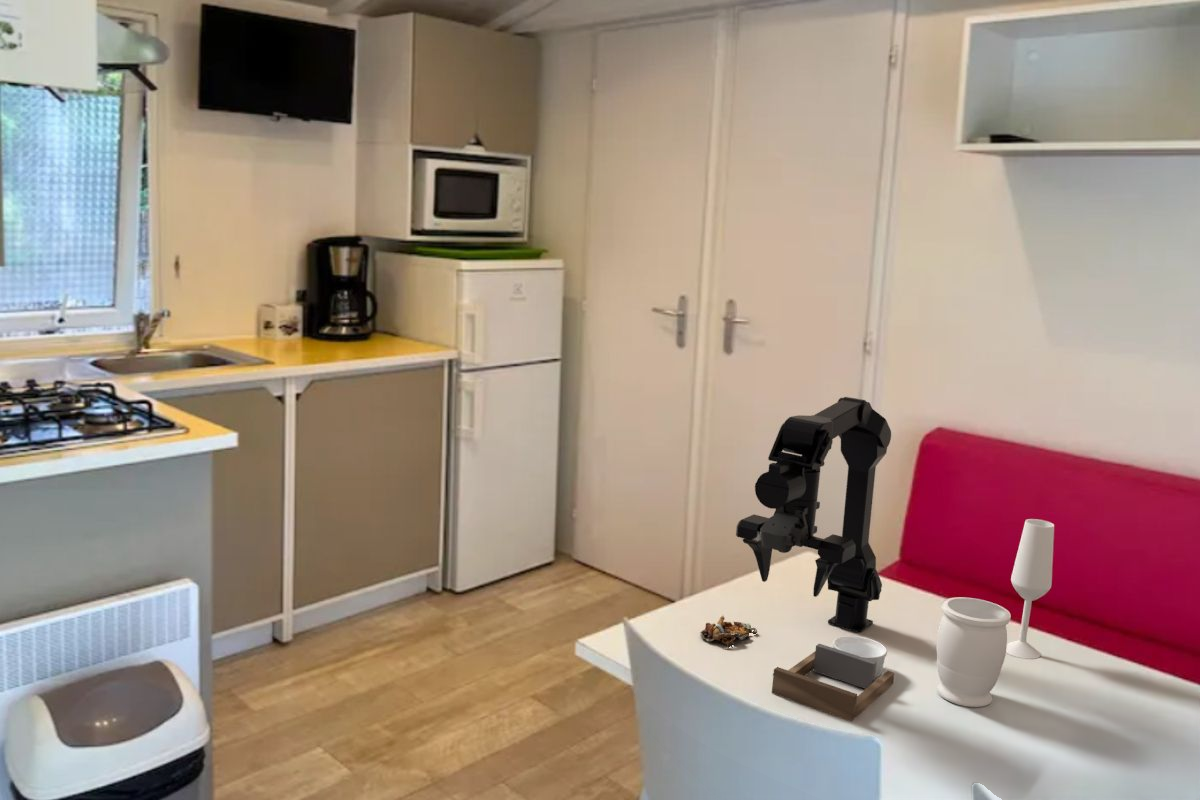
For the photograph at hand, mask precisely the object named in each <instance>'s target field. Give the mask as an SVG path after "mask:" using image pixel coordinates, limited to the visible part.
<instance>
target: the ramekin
mask: <svg viewBox="0 0 1200 800" xmlns="http://www.w3.org/2000/svg"><path fill="white" fill-rule="evenodd" d="M832 646H833V647H832V648H835V649H838V650H841V651H844V652H847V653H851V654H854V655H857V656H860V657H863V658H866V659H869V660H872V661H876V671H875V679H878V678H879V677H881V676H882V672H883V668H884V663H885V658H886V656H887V653H888V649H887V648H886V647H885V646H884V645H883V644H882V643H881V642H879V641H876V640H874V639H871V638H867V637H864V636H858V635H857V636H856V635H843V636H838V637H836V638H835V639H833V641H832Z"/></svg>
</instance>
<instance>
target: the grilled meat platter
mask: <svg viewBox="0 0 1200 800" xmlns="http://www.w3.org/2000/svg"><path fill="white" fill-rule="evenodd" d="M725 619H726V618H725V616H724V614H722V615H721V616H720V617H719V619H718V621H717V623H710V622H706V623H705V627H704V629H703V630H702V631H700V633H699V636H700V637H701V638H702V639H704V640H706V641H707V642H712V641H715V640H716V641H718V642H719V643H723V644H724V645H725V644H726V648H725V646H724V647H723V648H722V650H723V651H730V650H731V649H733V647H732V645H734V646H735V647H736V645H735V643H734V640H735V639H736V638H738V639H739V640H745V639H746V638H747V637H750V636H749V633H753V634H756V633H757V634H758V629H757V628H756V627H753V628H751V626H752V625H751V623H746V622H745V623H744V622H740V621H733V623H732V622H731V621H725ZM752 630H754V631H753V632H752ZM730 646H731V647H732V648H729V647H730ZM729 649H730V650H729Z"/></svg>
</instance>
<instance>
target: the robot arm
mask: <svg viewBox="0 0 1200 800" xmlns="http://www.w3.org/2000/svg"><path fill="white" fill-rule="evenodd" d="M837 437H839V439H840V453H841V455H842V457H843V458H844V461H845V462H846V465H847V477H846V489H845V502H844V510H843V512H844V513H843V521H842V522H843V523H842V533H841V535H837V534H831V535H828V536H827V537H825V538H821V537H818V536H814V535H815V534H817V532H818V526H817V525H815V522H816V516H817V515H816V514H817V510H819V509H820V506H821V505H820V504H821V502H820V501H818V495H819V486H820V479H821V478H820V477H821V476H820V475H821V467H824V466H825V459H826V457H827V455H828V453H829V452H830V450H831V449H832V445H833V442H834V441H833V440H834V439H835V438H837ZM891 438H892V430H891V428H890V426H889V424H888V421H887V419H886V418H885V417H884V416H883V415H881V414H880V413H879V412H877V411H876V410H875V409H873V407H872V405H871V402H869V401H867V400H866V399H861V398H855V397H851V396H844V397H840V398H839V399H838V400H837V402H835V403H834V404H832V405H829V406H828V407H826V408H824V409H822V410H820V411H819V412H817V413H815V414H813V415H793V416H789V417H788V418H787V419H786V420H785V421H784V422H783V423H782V424H781V426H780V427H779V431H778V433H777V435H776V438H775V440H774V443H773V446H772V448H771V450H770V452H769V455H768V457H767V460H768V461H771V462H770V463H769V464H768V471H766V472H763V473H762V474H760V475H759V477H758V478H757V480H756V482H755V484H754V491H755V492H754V493H755V496H756V498H757V500H758V501H759V502H760V504H761V505H763V507H766V508H768V509H771V510H772V509H773V510H775V511H774V513H773V515H772V516H770V517H765V516H762V515H759V514H751V515H750V516H747V517H744V518H742V519H740V520H739V521H737V522H738V523H737V525H736V530H735V536H736V537H738V538H740V539H742V542H743V544H746V545H748V546H749V547H750V548H751V550H752V551H753V554H754V557H755V559H756V563H757V567H758V570H759V571H758V572H759V574H760V578H761V581H762V582H763V583H765V582H767V581H768V578H769V575H770V570H771V563H772V562H771V561H772V556H773V555H772V553H773V550H775V551H778V553H782V554H785V553H789V552H790V551H791V550H792V548H793V547H799V548H802V547H806V548H809V549H813V550H817V554H818V556H819V557H818V558H816V559H815V560H814V561H815V564H816V565H815V566H816V571H815V578H814V584H813V592H812V593H813V597H814V598H817V597H818V596H819V595H820V593H821V591H822V589H824V586H825V584H826V582H827V590H828V591H829V590H830V591H834V592H837V597H836V598H837V599H836V607H835V615H833V616H832V617H831V618H829V619H828V620H827V624H829V625H833V626H836V627H839V628H842V629H845V630H848V631H851V632H855V633H862V632H864V631H865V630H866V629H867V628H869V627H870V626H871V625H873V623H874V621H873V620H872V619H869V618H868V610H869V603H870V602H872V601H879V600H880V596H881V592H882V588H883V583H882V580H881V578H880V575H879V572H878V570H877V568H876V567H877V566H876V565H877V556H876V555H875V553H874V551H873V549H872V547H871V545H870V543H869V542H870V541H869V540H870V531H871V530H870V528H871V517H872V508H873V498H874V488H875V477H876V476H875V475H876V467H877V465H878V464H879V463H880V462H881V461H882V460H883V458H884V457H885V455H887V450H888V447H889V445H890V442H891Z"/></svg>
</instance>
